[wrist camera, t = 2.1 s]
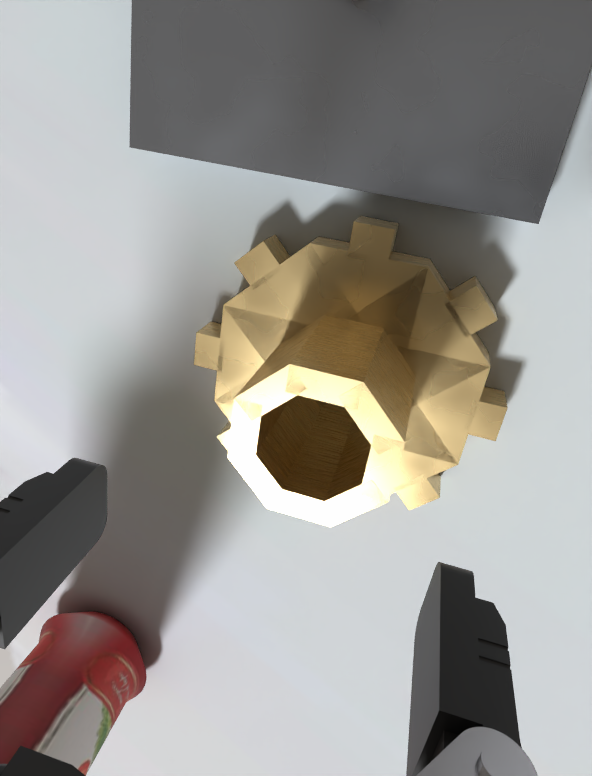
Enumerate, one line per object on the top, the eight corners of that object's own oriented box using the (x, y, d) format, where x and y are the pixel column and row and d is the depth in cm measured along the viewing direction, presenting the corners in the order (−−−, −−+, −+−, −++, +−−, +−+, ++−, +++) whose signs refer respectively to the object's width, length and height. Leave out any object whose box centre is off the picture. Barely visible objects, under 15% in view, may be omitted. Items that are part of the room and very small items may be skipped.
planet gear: (553, 253, 19) (595, 304, 13) (456, 527, 24) (456, 648, 19) (222, 188, 21) (134, 209, 15) (199, 455, 26) (128, 544, 20)
